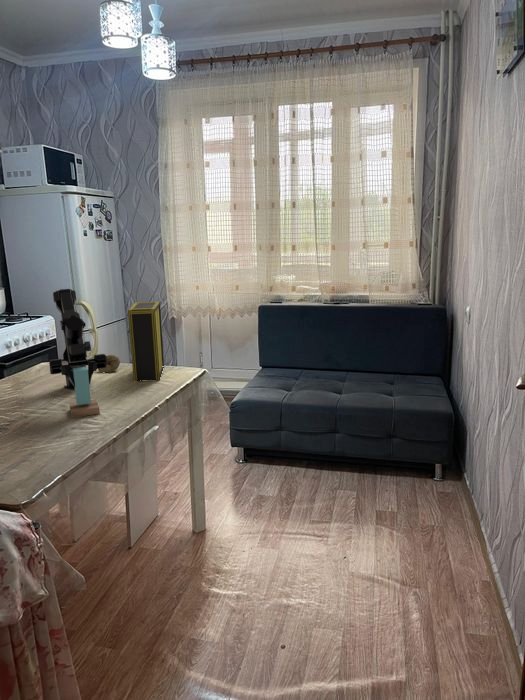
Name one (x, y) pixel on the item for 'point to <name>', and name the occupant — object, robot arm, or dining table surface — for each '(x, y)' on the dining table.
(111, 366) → the fossil
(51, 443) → the dining table surface
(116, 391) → the dining table surface
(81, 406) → the base brick
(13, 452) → the dining table surface
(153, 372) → the diorama
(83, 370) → the tall block
